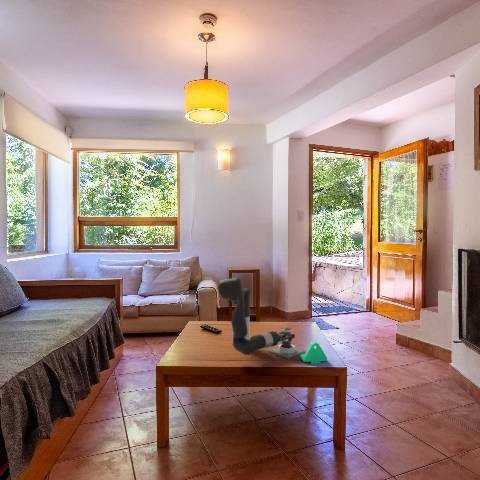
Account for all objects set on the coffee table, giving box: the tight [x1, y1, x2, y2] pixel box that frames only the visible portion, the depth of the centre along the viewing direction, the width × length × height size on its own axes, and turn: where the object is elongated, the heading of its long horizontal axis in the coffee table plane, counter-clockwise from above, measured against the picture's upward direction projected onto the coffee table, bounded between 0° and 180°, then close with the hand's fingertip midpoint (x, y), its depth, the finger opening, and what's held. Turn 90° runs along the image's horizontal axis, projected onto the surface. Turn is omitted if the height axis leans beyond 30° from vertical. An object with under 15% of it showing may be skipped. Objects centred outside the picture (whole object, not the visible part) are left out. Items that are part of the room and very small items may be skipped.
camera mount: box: [299, 340, 328, 364], centre depth 194 cm, size 12×8×10 cm, turn 98°
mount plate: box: [268, 343, 306, 359], centre depth 206 cm, size 14×14×4 cm
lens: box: [280, 327, 292, 348], centre depth 206 cm, size 5×5×12 cm
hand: (289, 334), depth 208 cm, fingers open, 6 cm apart
